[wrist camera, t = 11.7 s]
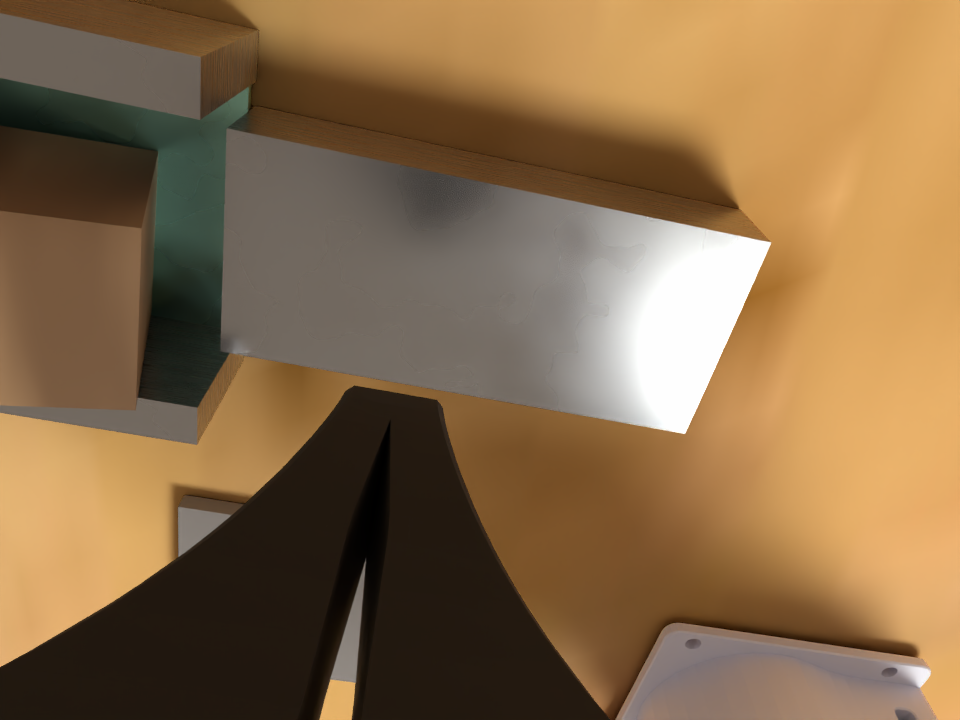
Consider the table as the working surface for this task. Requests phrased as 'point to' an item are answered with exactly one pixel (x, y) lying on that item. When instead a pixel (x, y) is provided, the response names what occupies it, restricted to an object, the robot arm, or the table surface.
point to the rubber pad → (208, 514)
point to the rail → (371, 240)
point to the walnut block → (74, 270)
